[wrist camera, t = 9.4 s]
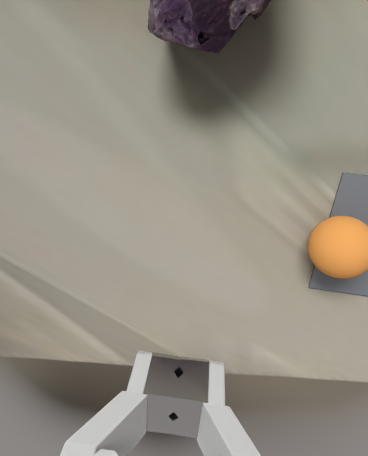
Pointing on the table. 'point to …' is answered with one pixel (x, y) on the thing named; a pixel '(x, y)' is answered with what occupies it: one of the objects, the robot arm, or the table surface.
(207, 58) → the table surface
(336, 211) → the grey mark
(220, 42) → the rock
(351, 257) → the ball
